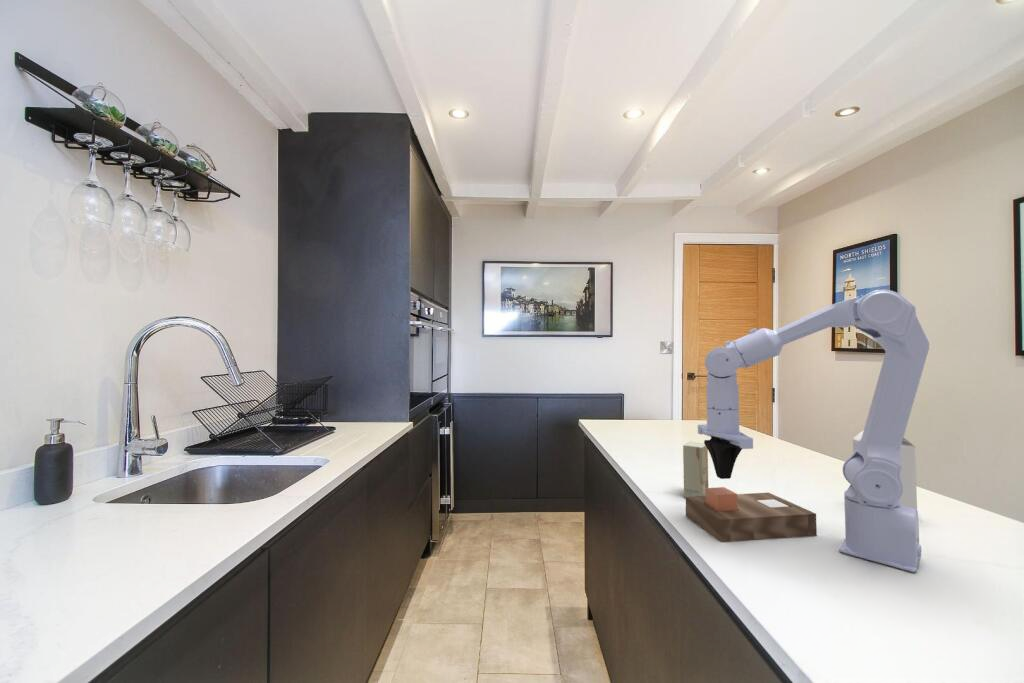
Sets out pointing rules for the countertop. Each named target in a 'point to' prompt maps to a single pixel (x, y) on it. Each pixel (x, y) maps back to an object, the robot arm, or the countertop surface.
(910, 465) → the milk carton
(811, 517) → the button block
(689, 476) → the skincare box
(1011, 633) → the countertop surface
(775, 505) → the grey button
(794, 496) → the countertop surface
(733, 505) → the terracotta button
